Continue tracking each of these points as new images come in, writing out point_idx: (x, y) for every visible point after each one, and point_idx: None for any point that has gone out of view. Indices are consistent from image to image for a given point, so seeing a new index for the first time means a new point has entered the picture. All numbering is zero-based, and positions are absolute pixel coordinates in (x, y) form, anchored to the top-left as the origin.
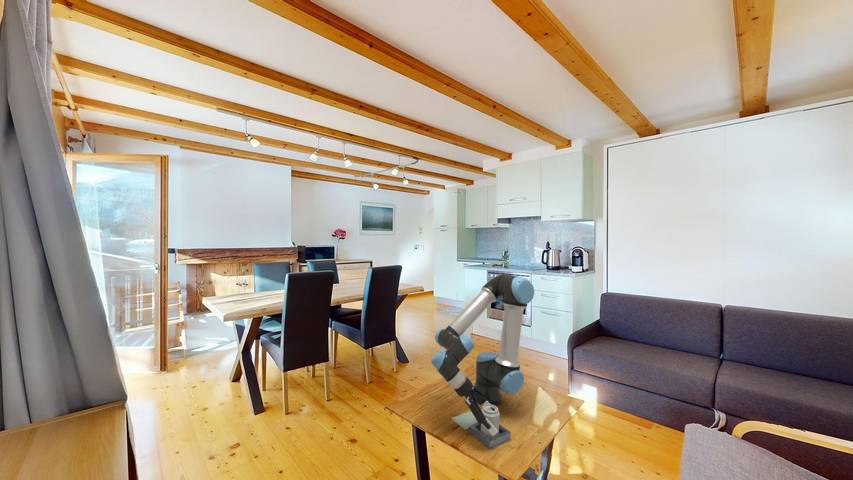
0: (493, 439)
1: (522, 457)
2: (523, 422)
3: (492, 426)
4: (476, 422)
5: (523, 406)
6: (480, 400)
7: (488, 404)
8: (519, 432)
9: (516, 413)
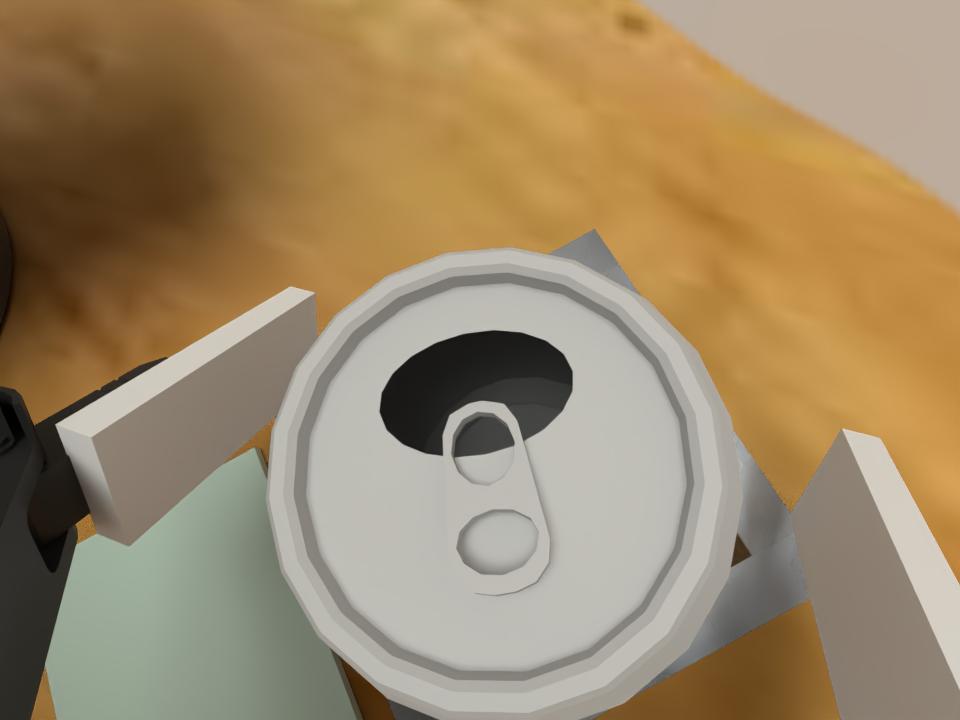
0: (771, 505)
1: (887, 235)
2: (326, 76)
3: (933, 550)
4: (264, 580)
5: (97, 15)
6: (21, 632)
7: (281, 456)
8: (475, 151)
9: (182, 98)
